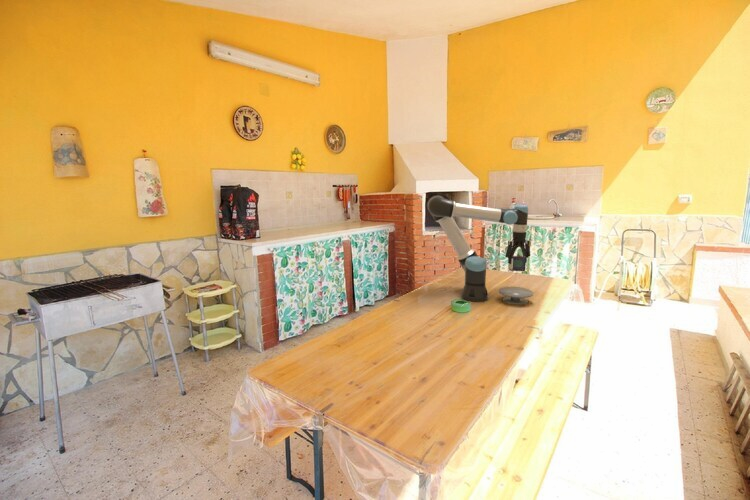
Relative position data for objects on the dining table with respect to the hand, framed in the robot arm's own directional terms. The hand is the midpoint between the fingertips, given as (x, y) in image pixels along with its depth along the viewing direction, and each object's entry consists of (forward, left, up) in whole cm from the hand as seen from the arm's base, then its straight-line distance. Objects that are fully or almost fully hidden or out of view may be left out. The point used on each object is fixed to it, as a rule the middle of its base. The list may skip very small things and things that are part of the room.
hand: (516, 268), depth 216 cm
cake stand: (-12, -15, -15) cm, 24 cm away
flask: (0, 0, -2) cm, 2 cm away
